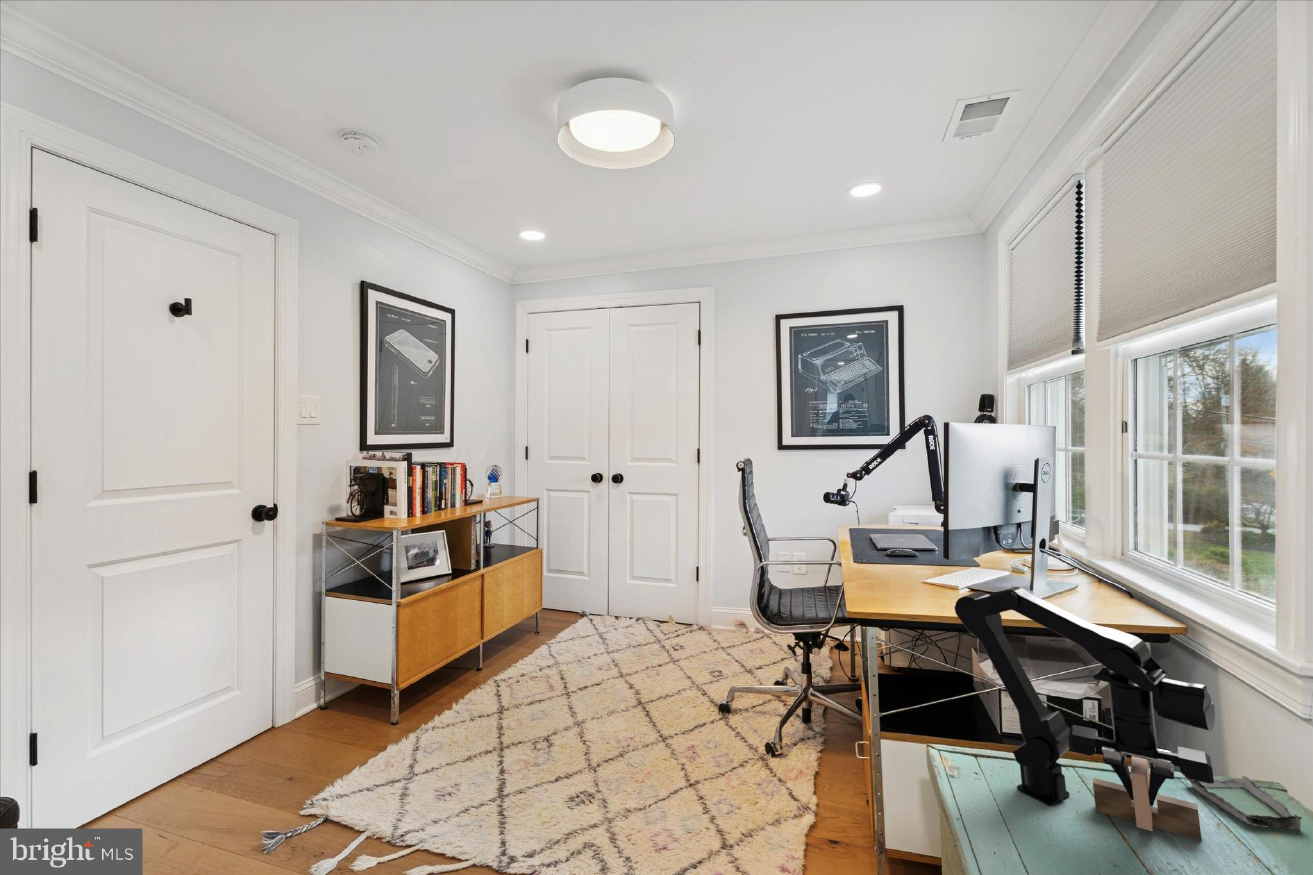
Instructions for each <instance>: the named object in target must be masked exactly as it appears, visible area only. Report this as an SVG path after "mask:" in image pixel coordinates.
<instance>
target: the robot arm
mask: <svg viewBox="0 0 1313 875" xmlns="http://www.w3.org/2000/svg"><path fill="white" fill-rule="evenodd" d="M953 608H954V611H955V614H956V616H957V618H958V619H959V621H961V623H962V625H963V626H964V628H965V629H966V630H967V631H968V632H970V633H971V635H973V636H974V637H975V638H977V639H978V641H979V642H980V644H981V645H982V647H983V649H984V651H985V653H986V655H987V656H988V658H989V660H990V662H991V663H992V666H993V668H994V669H995V671H996V673H997V675H998V677H999V679H1000V681H1001V683H1002V684H1003V686H1004V688H1005V691H1007V693H1008V695H1009V698H1010V699H1011V701H1012V703H1013V705H1014V707H1015V709H1016V710H1017V713H1018V721H1019V729H1020V732H1021V735H1022V739H1023V741H1024V742H1023V743H1022V744H1021V745H1020V746H1018V747H1017V748H1016V749H1015V750H1013V751H1012V753H1013V756H1014V758H1015V761H1016V763H1017V764H1019V769H1020V770H1019V771H1020V779H1021V783H1020V784H1018V785H1016V789H1017V790H1018V791H1020V792H1022V793H1024V794H1026V795H1028V796H1030V797H1032V798H1034V799H1036V800H1038V801H1040V802H1042V803H1044V804H1046V805H1048V806H1053V805H1055V804H1057V803H1059V802H1061V801H1062V800H1065V799H1066V798H1067V797H1069V796H1070V795H1071V794H1070V792H1069V791H1068V790H1067V785H1066V776H1065V774H1063V771H1062V770H1063V768H1062V764H1060V763H1058V762H1057V761H1058V760H1059V759H1060V758H1062V756H1064V755H1065V754H1066V753H1067V752H1068V751H1071V752H1072V753H1076V754H1081V755H1085V756H1090V757H1091V756H1093V755H1095V754H1096V753H1097V749H1098V750H1101V752H1102V754H1103V757H1102V762H1103V763H1104V764H1105V765H1108V766H1110V767H1111V769H1112V770H1113V771H1114V772H1115V774H1116V775H1117V776H1118V779H1120V781H1121V783H1122V785H1124V787H1125V789H1126V791H1127V793H1128V794H1129V796H1130V798H1131V801H1133V802H1134V797H1133V788H1132V779H1131V771H1130V768H1129V764H1128V759H1127V756H1129V757H1132V756H1134V757H1138V758H1142V759H1147V760H1148V761H1150V762H1149V764H1150V765H1149V776H1150V779H1149V803H1150V806H1152V807H1154V804H1155V801H1156V800H1157V794H1159V790H1160V789H1161V787H1162V785H1163V784H1164V782H1166V779H1168V780H1174V779H1175V770H1174V769H1175V767H1179V771H1180V774H1181V775H1183V776H1184V778H1185V777H1186V778H1187V779H1192V780H1196V781H1200V782H1205V783H1209V784H1211V783H1214V779H1215V778H1214V772H1213V765H1212V760H1211V756H1210V755H1209V754H1208V753H1206V751H1201V750H1198V749H1192V748H1187V747H1183V746H1177V753H1174V752H1171V750H1170V751H1169V750H1164V749H1159V748H1158V746H1159V742H1158V733H1157V731H1158V730H1157V729H1156V725H1155V717H1154V716H1155V715H1154V711H1155V712H1156V714H1157V716H1158V717H1162V719H1163V720H1164V721H1168V722H1172V723H1175V724H1176V723H1177V724H1181V725H1184V726H1188V727H1192V728H1196V729H1201V730H1204V731H1207V732H1212V731H1213V730H1214V726H1215V722H1216V716H1215V715H1216V712H1215V703H1214V702H1213V701H1212V697H1211V695H1210V693H1209V692H1208V687H1207V686H1206V685H1205V684H1202V683H1201V684H1200V683H1195V682H1194V683H1193V682H1191V683H1190V682H1185V681H1180V680H1175V679H1170V678H1168V677H1169V673H1168V672H1167V671H1166V670H1165V669H1164V668H1163V667H1162V665H1161V664H1159V662H1158V661H1157V660H1156V659H1155V658H1154V657H1153V655H1152V654H1151V651H1150V649H1149V647H1148V645H1147V643H1146V642H1145V641H1144V640H1143V639H1141V638H1139V637H1138V636H1135V635H1133V634H1130V633H1128V632H1125V631H1122V630H1119V629H1115V628H1111V627H1107V626H1102V625H1097V624H1095V623H1092V622H1089V621H1087V620H1085V619H1083V618H1081V617H1079V616H1077V615H1075V614H1073V613H1071V612H1070V611H1067V610H1066V609H1063V608H1060V607H1059V606H1057V605H1054V604H1053V603H1051V602H1048V601H1047V600H1044V599H1043V598H1040V597H1039V596H1036V595H1034V594H1032V593H1031V592H1028V591H1027V590H1026V589H1024V588H1022V587H1020V586H1013V587H1010V588H1007V589H1003V590H998V591H995V592H991V593H986V592H984V591H975V592H972V593H969V594H967V595H966V594H965V595H964V596H961V597H960V598H958V599H957V600H956V602H955V604H954V607H953ZM1008 611H1014V612H1016V613H1018V614H1020V615H1022V616H1023V617H1026V618H1027V619H1029V620H1031V621H1033V622H1035V623H1037V624H1039V625H1041V626H1043V627H1044V628H1046V629H1049V630H1050V631H1052V632H1054V633H1056V634H1058V635H1059V636H1062V637H1063V638H1065V639H1067V640H1069V641H1071V642H1073V643H1075V644H1076V645H1078V646H1079V647H1080V648H1082V649H1083V650H1084V651H1086V653H1087V654H1088V655H1089V656H1090V657H1091V658H1092V659H1094V660H1095V661H1096V662H1098V663H1099V664H1101V665H1102V667H1101V669H1100V670H1098V671H1097V672H1096V673H1094V674H1093V675H1092V678H1093V679H1094V680H1097V681H1099V682H1100V681H1101V682H1106V683H1107V684H1108V694H1109V701H1110V702H1109V703H1110V707H1107V706H1104V708H1103V709H1104V724H1105V725H1106V726H1110V727H1112V729H1113V739H1110V738H1105V737H1101V736H1099V733H1098V730H1097V728H1093V727H1092V728H1091V727H1087V726H1081V725H1076V724H1073V725H1072V726H1071V727H1069V725H1067V723H1066V721H1065V719H1064V716H1063V714H1062V713H1061V711H1060V710H1057V711H1054V712H1053V711H1052V710H1051V709H1049V708H1048V707H1047V706H1046V705H1045V704H1044V702H1042V700H1041V698H1040V696H1039V694H1038V692H1037V691H1036V689H1035V688H1034V685H1033V684H1032V682H1031V680H1030V679H1029V677H1028V675H1027V673H1026V671H1025V670H1024V668H1023V666H1022V664H1021V662H1020V660H1019V658H1018V657H1017V655H1016V653H1015V651H1014V649H1013V648H1012V646H1011V645H1010V642H1009V641H1008V639H1007V637H1006V635H1005V634H1004V631H1003V629H1004V628H1003V621H1002V620H1003V619H1002V614H1001V613H1003V612H1008ZM1143 670H1144V671H1146V672H1144V671H1143ZM1186 778H1185V779H1186ZM1187 779H1186V780H1187Z"/></svg>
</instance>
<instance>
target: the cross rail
mask: <svg viewBox="0 0 1313 875" xmlns="http://www.w3.org/2000/svg"><path fill="white" fill-rule="evenodd" d="M1092 787H1093V788H1092V789H1093V795H1094V803H1095V804H1094V806H1095V812H1099V813H1103V814H1106V815H1109V816H1114V817H1117V818H1120V819H1123V820H1127V821H1132V822H1134V823H1136V815H1135V806H1134V801H1132V800H1131V798H1130V796H1129V794H1128V793H1127V791H1126V789H1125V787H1124V785H1123V784H1119V783H1116V782H1111V781H1107V780H1104V779H1101V778H1096V777H1093V780H1092ZM1156 805H1157V807H1155V806H1151V813H1152V828H1155V829H1156V828H1157V829H1160V830H1161V831H1162V830H1163V831H1167V832H1170V833H1174V834H1177V835H1180V836H1184V837H1187V838H1191V839H1194V840H1197V841H1201V842H1202V839H1203V838H1202V831H1201V822H1200V816H1199V807H1198V806H1199V805H1198V803H1196V802H1191V801H1187V800H1183V799H1179V798H1176V797H1175V798H1174V797H1172V796H1168V795H1164V794H1159V793H1157V796H1156Z"/></svg>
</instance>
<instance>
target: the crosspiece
mask: <svg viewBox="0 0 1313 875" xmlns="http://www.w3.org/2000/svg"><path fill="white" fill-rule="evenodd" d="M1130 776H1131V780H1132V788H1133V797H1134V801H1133V802H1134V806H1135V815H1136V822H1135V823H1136V827H1137V828H1139V829H1143V830H1145V831H1146V830H1147V831H1149V832H1153V827H1152V813H1151V806H1150V803H1149V779H1150V766H1149V760H1147V759H1142V758H1138V757H1134V756H1131V763H1130Z"/></svg>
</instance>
